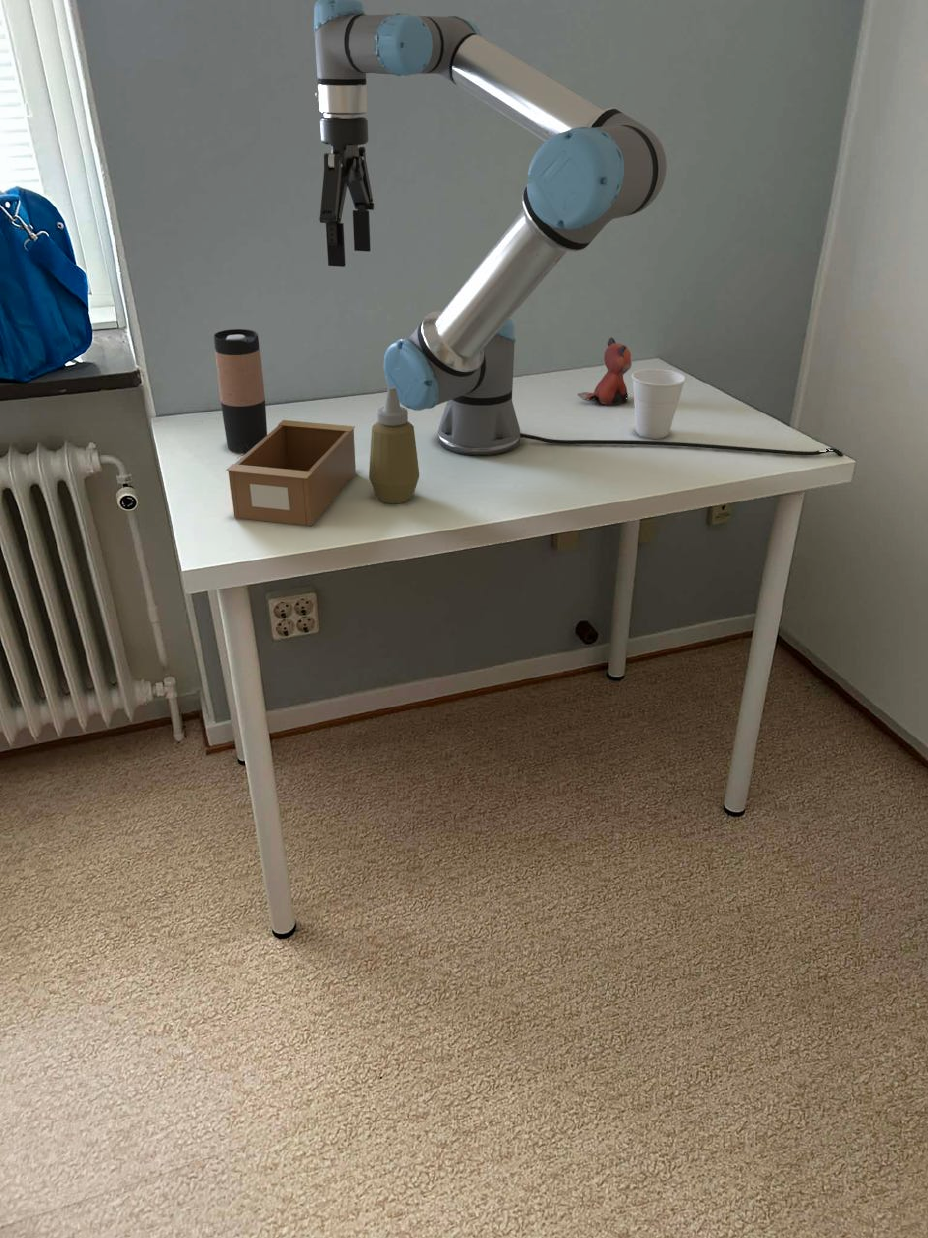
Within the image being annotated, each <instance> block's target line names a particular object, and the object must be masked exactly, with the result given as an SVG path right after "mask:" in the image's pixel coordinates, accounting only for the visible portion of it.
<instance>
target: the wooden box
mask: <svg viewBox="0 0 928 1238" xmlns="http://www.w3.org/2000/svg"><path fill="white" fill-rule="evenodd" d="M355 428H356V426H355V425H346V424H345V425H343V424H333V423H322V422H313V421H312V422H311V421H302V420H301V421H299V420H289V419H282V420H281V421H280V422H279V423H278V424H277V426H276V427H275V428H273V430H271V431H270V432H269V433H267V436H266V437H265V438H263V439H262V440H261V441H260V442H259V443H258V444H257V445H255V446H254V447H253V448H252V449H251V450H250V451H249V452H247V453H244V455H243V456H241V458H239V459H238V460H237V461H236V462H235V463H232V464H231V465H230V466H229V467H227V468H226V470H225V471H227V472H228V478H229V486H230V495H231V502H232V503H231V504H232V511H233V512H232V513H233V519H241V520H243V519H244V520H251V521H260V522H269V523H277V524H287V525H295V526H307V527H312V526H313V525H314V524H315V523H316V522H317V520H318V519H319V518H320V517H321V516H322V515H323V513H324V512H325V511H326V510H327V508H328V507H330V505H331V504H332V503H333V501H334V500H335V499H336V498H337V496H338V495H339V494H340V493H341V492H342V491H343V490H344V488H345V487H346V486H347V485H348V483H349V482H351V480H352V479H353V477H354V476H355V475H356V473H357V470H356V469H357V468H356V466H357V465H356V450H355V449H356V448H355V447H356V445H355Z"/></svg>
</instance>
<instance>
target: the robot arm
mask: <svg viewBox="0 0 928 1238" xmlns="http://www.w3.org/2000/svg"><path fill="white" fill-rule="evenodd" d="M313 11H314V12H313V35H314V45H315V58H316V60H315V61H316V74H317V91H316V92H315V97H316V98H318V107H319V108H318V109H319V112H320V114H323V116H322V117H320V119H319V130H320V133H319V134H320V141H321V143H322V144H324V145H330V147H331V153H329V152H328V153H326V152H325V153H323V177H322V179H323V180H322V187H321V199H320V212H319V219H318V220H319V223H320V224H325V234H326V236H325V237H326V250H327V266H328V267H339V268H340V267H341V268H345V267H346V265H347V264H346V249H345V246H346V245H345V226H344V224H345V223H344V222H342V218H343V213H344V206H345V201H346V196H347V190H348V191H349V194H350V197H351V201H352V203H353V206H354V207H353V208H354V209H353V210H352V229H353V248H354V250H353V251H355V252H371V249H372V248H371V226H370V223H371V222H370V221H371V220H370V211H374V210H375V203H374V198H373V191H372V186H371V180H370V176H369V175H370V174H369V170H368V164H367V153H366V147H365V146H363V145H367V144H368V142H369V121H368V119H367V117H365V115H366V114H367V113H368V112H369V108H368V86H367V74H376V75H393V76H397V77H401V76H404V77H405V76H406V77H407V76H408V77H409V76H412V75H419V74H421V75H423V74H424V75H426V74H428V75H429V74H431V75H433V74H436V75H439V76H442V77H444V78H445V79H446V80H448V81H449V82H451V83H453V84H454V85H456V86H457V87H459V88H461V89H463V90H464V91H465V92H467V93H469V94H470V95H472V96H474V97H475V98H476V99H478V100H480V101H481V102H483V103H484V104H486V105H487V106H489V107H490V108H492V109H494V110H495V111H497V112H498V113H500V114H501V115H503V116H504V117H506V118H508V119H509V120H511V121H512V122H513V123H515V124H516V125H518V126H520V127H521V128H523V129H524V130H526V131H528V132H529V133H531V134H533V135H534V136H535V137H537V138H538V139H540V140H542V141H543V142H544V143H542V145H541V146H540V147H539V148H538V150H537V151H536V152H535V154H534V156H533V157H532V160H531V162H530V165H529V167H528V172H527V176H528V179H529V180H528V182H527V183H526V186H525V188H524V189H523V191H522V195H521V201H522V207H523V208H522V210H521V211H520V212H519V214H518V215H517V216H516V217H515V218H514V220H513V221H512V222H511V224H510V225H509V226H508V228H507V229H506V230H505V231H504V233H503V234H502V235H501V237H500V238H499V239H498V240H497V241H496V243H495V244H494V246H492V248H491V249H490V250H489V252H488V253H487V254H486V256H485V257H484V258H483V259H482V260H481V262H480V263H479V264H478V265H477V267H476V268H475V270H474V271H473V272H472V273H471V274H470V276H469V277H468V278H467V279H466V280H465V282H464V283H463V285H462V286H461V287H460V289H459V290H458V291H457V292H456V294H455V295H453V297H452V298H451V300H450V301H449V302H448V303H447V305H446V306H445V307H444V308H443V310H435V311H432V312H430V313H428V314H427V315H426V316H425V317H424V319H422V321H421V322H420V323H419V325H418V326H417V327H416V329H415V330H414V331H413V332H412V334H411V335H409V336H408V337H406V338H400V339H397V340H396V341H394V342H393V343H391V344H390V345H389V346H388V347H387V349H386V350H385V353H384V357H383V364H382V365H383V372H384V378H385V382H386V384H387V388H388V387H391V386H393V387H396V391H397V395H398V399H399V403H400V405H401V406H402V407H403V408H405V409H407V410H412V411H415V412H417V411H424V410H431V409H434V408H435V407H436V406H438V405H441V404H443V403H446V404H445V407H444V410H443V413H442V415H441V419H440V422H439V425H438V428H437V443H438V444H439V445H440V446H441V447H442V448H444V449H446V450H448V451H451V452H453V453H458V454H461V455H468V456H469V455H470V456H492V455H500V454H504V453H508V452H510V451H513V450H515V449H516V448H517V447H519V446H520V444H521V439H522V438H523V439H528V440H534V441H538V442H542V443H547V444H556V445H558V444H559V445H644V446H645V445H646V446H666V447H667V446H668V447H670V446H671V447H683V448H684V447H686V448H699V449H701V448H702V449H714V450H726V451H727V450H728V451H739V452H751V453H764V454H765V453H766V454H775V455H776V454H777V455H789V456H790V455H791V456H820V455H823V454H828V453H834V454H836V455H837V456H838V457H844V456H845V455H844V454H843V452H842V451H841V450H840V449H837V448H834V447H828V449H830V450H833V451H829V450H828V449H827V448H825V449H826V450H827V451H826V452H819V450H815V451H813V450H812V451H807V450H806V451H804V450H802V451H801V450H788V449H787V450H786V449H777V448H776V449H774V448H760V447H748V446H738V445H737V446H734V445H724V444H712V443H711V444H710V443H699V442H698V443H697V442H696V443H695V442H682V441H681V442H680V441H662V440H634V439H633V440H632V439H630V440H629V439H628V440H627V439H553V438H547V437H542V436H537V435H532V434H527V433H521V427H520V425H519V420H518V417H517V414H516V410H515V406H514V402H513V388H514V387H513V386H514V366H515V365H514V364H515V343H516V341H517V340H516V335H515V334H516V333H515V323H514V321H513V320H512V319H511V317H512V316H513V315H514V314H515V313H516V311H517V310H519V308H520V307H521V306H522V305H523V303H524V302H525V301H526V300H527V299H528V298H529V297H530V296H531V295H532V293H533V292H534V291H535V290H536V289H537V287H539V285H540V284H541V283H542V282H543V281H544V279H545V278H546V277H547V276H548V275H549V274H550V273H551V271H552V270H554V269H555V267H556V266H557V265H558V263H560V261H561V260H562V259H563V258H564V257H565V256H566V255H567V253H568V252H575V253H577V252H582V251H583V250H585V249H586V248H587V247H588V246H589V245H590V244H591V243H592V242H593V240H594V239H595V238H596V237H597V236H598V235H599V234H600V233H601V232H602V230H603V229H604V228H605V227H606V226H607V225H608V224H609V223H610V222H611V221H613V220H615V219H621V218H624V217H628V216H632V215H635V214H637V213H639V212H642V211H643V210H645V209H646V208H648V207H649V206H650V205H651V204H652V203H653V202H654V201H655V200H656V199H657V197H658V196H659V194H660V193H661V191H662V189H663V186H664V184H665V180H666V176H667V168H668V162H667V155H666V152H665V149H664V146H663V144H662V142H661V141H660V139H659V138H658V136H657V135H656V134H655V133H654V132H653V131H652V130H651V129H650V128H648V127H647V126H645V125H643V124H642V123H640V122H639V121H637V120H635V119H634V118H632V117H631V116H629V115H627V114H625V113H623V112H622V111H620V110H618V109H616V108H615V107H608V108H606V109H601V108H600V107H598V106H596V105H595V104H593V103H591V102H590V101H588V100H587V99H585V98H583V97H582V96H580V95H578V94H577V93H575V92H573V91H571V90H570V89H568V88H567V87H565V86H564V85H562V84H561V83H559V82H557V81H555V80H554V79H552V78H550V77H548V76H547V75H546V74H544V73H543V72H541V71H539V70H537V69H535V68H534V67H532V66H531V65H529V64H527V63H526V62H524V61H523V60H521V59H519V58H518V57H515V56H514V55H513V54H511V53H509V52H508V51H506V50H504V49H503V48H501V47H500V46H497V44H494V43H493V42H491V41H489V40H488V39H487V38H484V37H483V35H482V32H481V31H480V29H479V28H478V26H477V24H476V23H475V22H474V21H472V20H471V19H468V18H464V17H460V16H456V15H453V16H452V15H448V16H434V15H433V16H429V15H428V16H427V15H414V14H408V13H399V12H397V13H392V14H391V13H389V14H365V7H364V3H363V1H362V0H316V2H315V4H314V7H313Z"/></svg>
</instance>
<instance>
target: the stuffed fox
mask: <svg viewBox="0 0 928 1238" xmlns="http://www.w3.org/2000/svg"><path fill="white" fill-rule="evenodd" d="M631 356H632V354H631V351H630V349H629V348H628V347H627V345H625V344H622V343H617V342H616V340H615V338H614V337H609V338H608V341H607V348H606V349H605V352H604V356H603V358H604V364H605V367H606V369H607V372H606V373H605V374H604V375H603V377H602V379H600V381H599V382H598V383H597V385H596V386H595V388H594V390H593V392H587V391H586V392H585V391H583V392H579V393H577V396H578V397H579V399H581V400H582V401H586V402H595V401H598V400H599V403H600V405H603V404H604V405H606V406H607V405H608V406H614V405H617V406H618V405H620V404H625V403H628V400H629V399H628V397H629V393H628V390H627V389H628V388H627V385H626V383H625V380H624V374H626V373H627V372H629V370H630V369H632V357H631ZM626 398H627V399H626Z"/></svg>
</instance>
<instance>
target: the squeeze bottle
mask: <svg viewBox="0 0 928 1238" xmlns="http://www.w3.org/2000/svg"><path fill="white" fill-rule="evenodd" d="M408 417H409V416H408V409H407V408H406V407H404V406H401V403H399V399H398V395H397V391H396V387H393V386H391V387H388V386H387V391H386V397H385V402H384V406H383V407H381V408H378V410H377V421H376V422H375V423H374V424H373V425H372V427H371V440H370V441H371V442H370V455H369V472H368V478H369V481H370V484H371V486H372V489H373V491H374V494H375V496H376V498H377V499H378V500H379V501H381V502H384V503H388V504H398V503H405V502H407V501H409V500H411V499H412V498H413V497H414V493H415V491H416V489H417V484H418V481H419V479H420V468H419V460H418V452H417V451H418V450H417V444H416V443H417V442H416V435H415V434H416V433H415V427H414V425H413V424H412V423H411V422H410V421H408Z"/></svg>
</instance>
